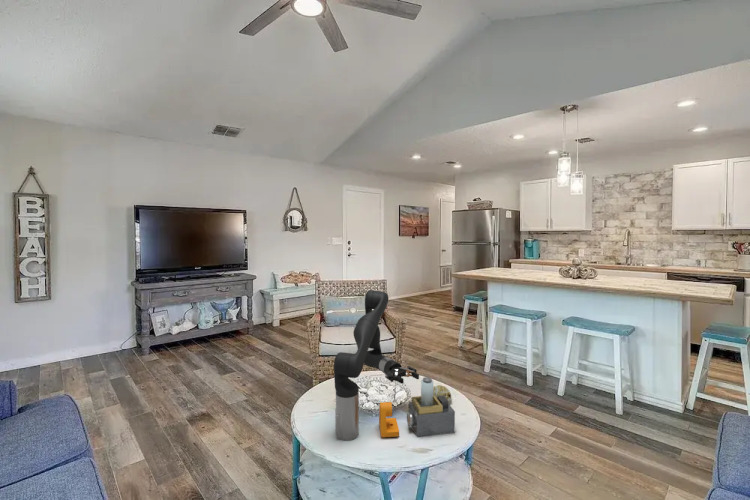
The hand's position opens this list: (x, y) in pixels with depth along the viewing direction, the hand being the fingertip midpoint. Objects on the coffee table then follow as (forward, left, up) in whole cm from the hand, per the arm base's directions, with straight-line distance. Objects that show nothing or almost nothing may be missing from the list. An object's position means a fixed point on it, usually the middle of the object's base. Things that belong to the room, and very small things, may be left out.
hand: (410, 379), depth 159 cm
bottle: (+4, -10, -8) cm, 13 cm away
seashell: (+18, +12, -17) cm, 28 cm away
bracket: (-12, -9, -17) cm, 23 cm away
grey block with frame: (+6, -10, -17) cm, 21 cm away
